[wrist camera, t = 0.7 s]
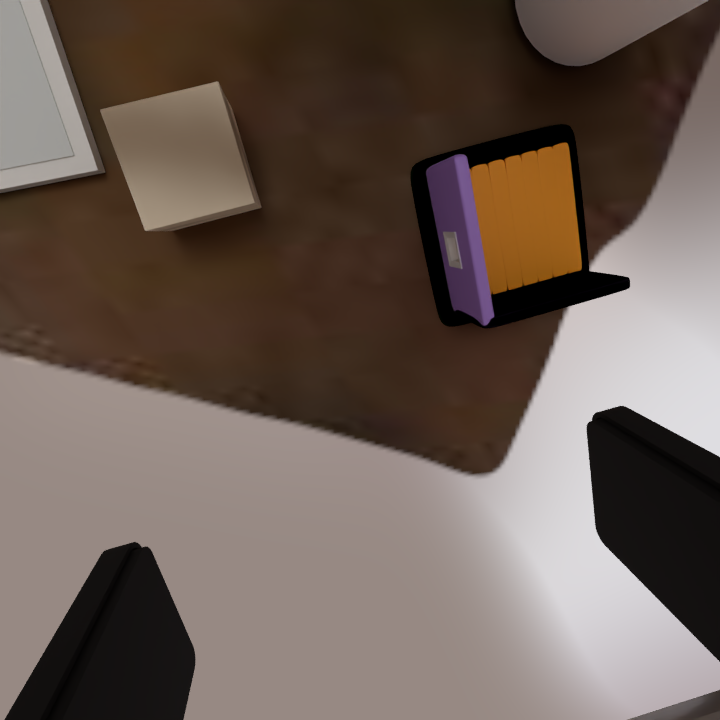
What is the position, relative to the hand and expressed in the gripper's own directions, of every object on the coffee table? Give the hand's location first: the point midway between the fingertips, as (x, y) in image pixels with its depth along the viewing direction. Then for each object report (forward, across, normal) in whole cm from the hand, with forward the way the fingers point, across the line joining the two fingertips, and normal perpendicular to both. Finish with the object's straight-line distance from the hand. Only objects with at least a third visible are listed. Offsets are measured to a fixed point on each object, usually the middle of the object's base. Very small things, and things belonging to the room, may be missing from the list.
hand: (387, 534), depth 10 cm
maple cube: (+19, +5, -11) cm, 23 cm away
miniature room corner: (+26, -14, -3) cm, 29 cm away
